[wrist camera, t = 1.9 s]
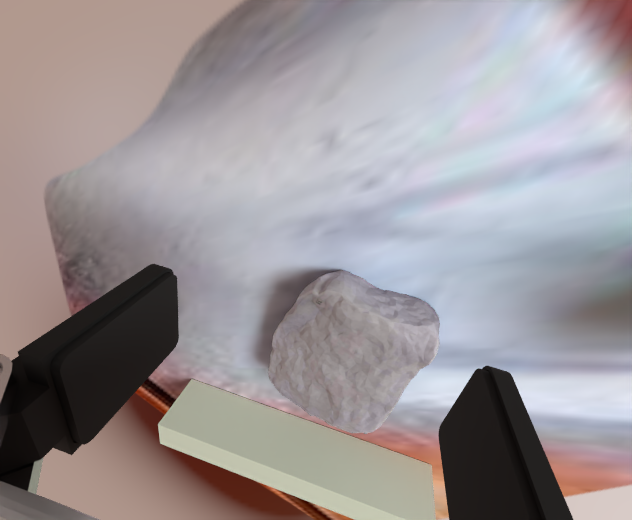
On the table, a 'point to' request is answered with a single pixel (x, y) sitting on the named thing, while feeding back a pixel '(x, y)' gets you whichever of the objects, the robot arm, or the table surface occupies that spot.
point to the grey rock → (351, 350)
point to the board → (298, 456)
